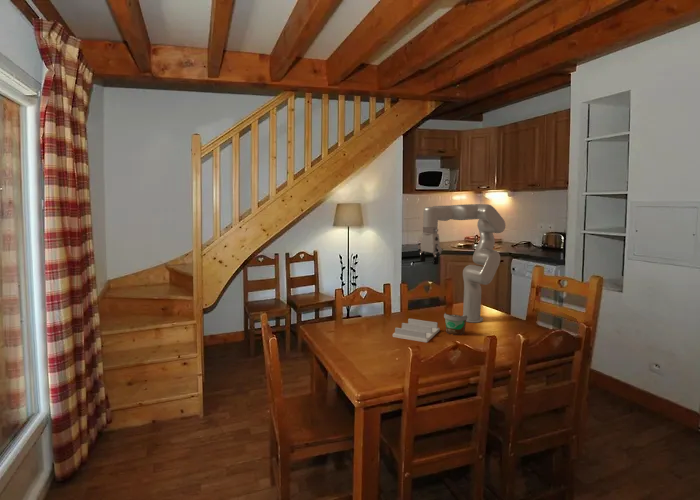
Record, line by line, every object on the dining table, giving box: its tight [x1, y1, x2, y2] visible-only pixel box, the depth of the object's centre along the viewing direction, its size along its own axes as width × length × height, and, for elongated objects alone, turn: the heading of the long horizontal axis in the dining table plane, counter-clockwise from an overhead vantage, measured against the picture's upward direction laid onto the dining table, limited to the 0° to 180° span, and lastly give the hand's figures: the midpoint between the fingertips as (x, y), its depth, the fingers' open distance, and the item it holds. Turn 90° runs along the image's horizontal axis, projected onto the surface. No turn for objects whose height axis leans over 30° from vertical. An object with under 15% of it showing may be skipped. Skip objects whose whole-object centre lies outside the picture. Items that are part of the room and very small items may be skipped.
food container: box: [443, 312, 468, 336], centre depth 231 cm, size 12×6×10 cm, turn 62°
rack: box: [392, 318, 441, 343], centre depth 232 cm, size 21×18×4 cm
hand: (429, 263), depth 237 cm, fingers open, 9 cm apart
